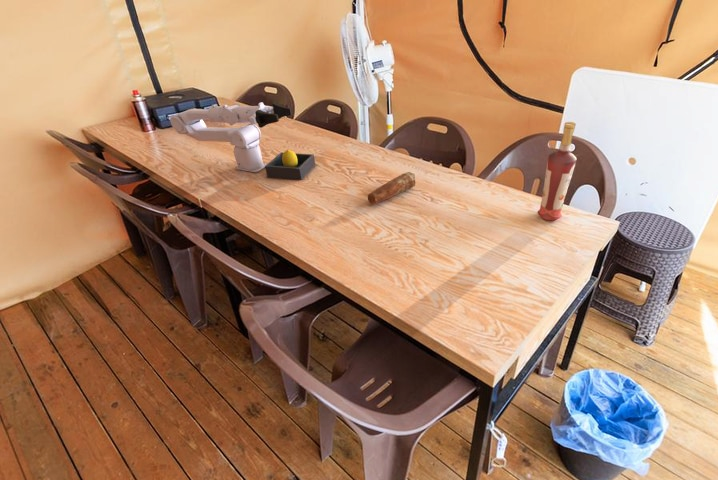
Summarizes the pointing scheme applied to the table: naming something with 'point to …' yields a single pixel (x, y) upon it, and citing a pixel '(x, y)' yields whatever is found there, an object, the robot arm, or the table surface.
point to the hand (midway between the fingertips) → (284, 114)
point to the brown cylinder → (392, 188)
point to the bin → (297, 173)
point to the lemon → (289, 159)
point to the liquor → (558, 177)
